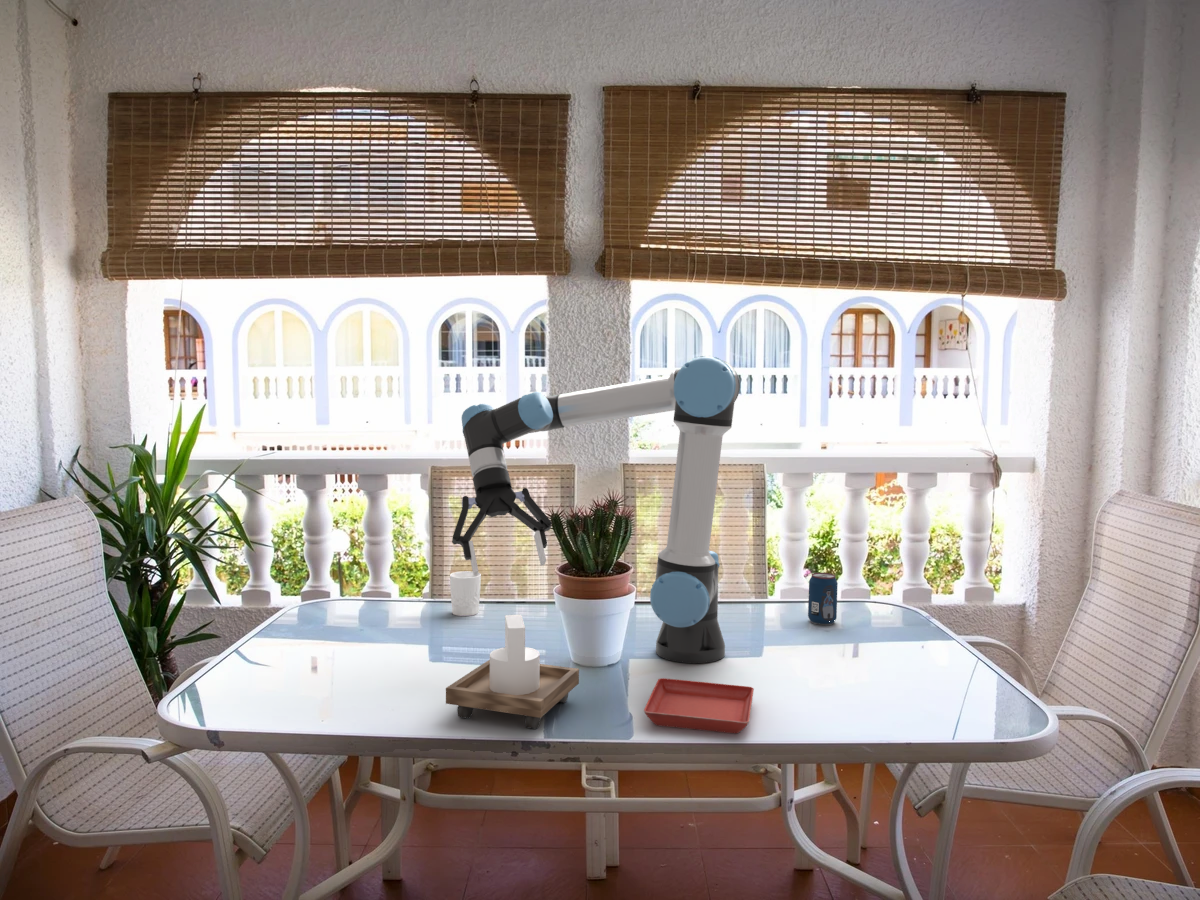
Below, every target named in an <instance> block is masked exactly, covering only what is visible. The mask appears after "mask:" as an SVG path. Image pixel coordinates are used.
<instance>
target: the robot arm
mask: <svg viewBox="0 0 1200 900" xmlns="http://www.w3.org/2000/svg"><path fill="white" fill-rule="evenodd" d="M740 383H741V382H740V377H739V375H738V373H737V371H736V370H735V368H734V367H733V366H732V365H731V364H730V363H729V362H727V361H725V360H723V359H721V358H719V357H717V356H715V357H714V356H711V355H708V356H706V355H704V356H703V355H702V356H696V357H695V358H692V359H689V360H688V361H687V362H686V363H684V364H683V366H681V368H678V369H674V370H673V371H672V372H671V373H670V374H669V375H665V376H661V377H655V378H648V379H642V380H636V381H631V382H625V383H618V384H613V385H607V386H599V387H596V388H595V387H594V388H588V389H584V390H578V391H572V392H566V393H565V392H564V393H561V394H554V395H547V396H545V394H543V392H541V391H538V390H537V391H534V392H532V393H527V394H523V395H522V396H521V397H519V398H517V399H515V400H513V401H510V402H508V403H506V404H504V405H502V406H500V407H497V408H494V407H493V406H492V405H491V404H486V403H479V404H474V405H470V406H469V407H467V408H466V409H464V411H463V412H462V414H461V424H462V425H461V426H462V435H463V439H464V442H465V445H466V451H467V455H468V460H469V467H470V471H471V476H472V482H473V488H474V492H475V497H468V496H467V495H463V496H462V500H461V510H460V515H459V517H458V520H457V523H456V526H455V528H454V532H453V535H452V539H451V543H452V545H460V547H462V552H463V556H464V559H465V560H466V561H469V560H470V565H471V569H472V571H471V572H473V576H474V577H475V576H478V573H479V567H478V562H477V555H476V550H475V547H474V541H473V540H472V538H473V536H474V535H475V533H476V532H477V530H478V529H479V527H480V526H481V524H482V523H483V521H484V520H485V519H486V517H487V516H488V517H490V518H495V517H496V516H506V515H507V514H509V515H511V517H514V518H515V519H517V520H519V521H520V522H521V523H522V524H524V525H525V526H526V527H528V528H529V529H530V530H532V531H533V532H534V536H533V537H534V542H535V547H536V552H537V556H538V561H539V565H540V566H541V567H542V566H545V564H546V563H547V557H546V554H545V549H546V548H547V547H548V541H547V537H546V532H547V531H550V530H551V528H552V525H553V522H552V520H551V519H550V518H549V516H547V514H546V513H545V512H544V511H543V510H542V509H541V508H540V506H539V505H538V503H536V501H535V500H534V499H533V498H532V496H531V494H530V492H529V489H528V488H527V487H524V488H522V489H521V491H520V490H519V491H517V492H515V491H514V490H513V487H512V482H511V478H510V474H509V471H508V463H507V459H506V455H505V451H504V444H506V443H508V442H512V441H514V440H515V439H518V438H521V437H522V436H525V435H528V434H532V433H538V432H549V431H552V430H557V429H558V430H559V429H564V428H569V427H570V428H571V427H575V426H576V427H577V426H582V425H588V424H595V423H596V424H597V423H602V422H608V421H614V420H615V421H616V420H621V419H627V418H628V419H629V418H635V417H640V416H647V415H654V414H660V413H665V412H672V411H673V413H674V414H673V420H672V421H673V423H674V424H675V425H676V427H677V428H678V431H679V435H678V436H679V438H678V444H677V452H676V453H677V454H676V463H675V470H674V471H675V472H674V480H673V489H672V497H671V506H670V515H669V522H668V523H669V525H668V534H667V540H666V542H667V543H666V546H665V548H663V550H661V551H660V552H658V554H657V555H658V557H657V563H656V571H655V572H656V573H655V579H654V581H653V584H652V585H651V588H650V592H649V593H650V595H649V602H650V606H651V609H652V611H653V613H654V614H655V616H656V617H657V618H658V619H659V620H660V621H661V622H662V624H661V626H660V630H659V633H658V635H657V638H656V641H655V653H656V654H657V655H658V656H659V657H661V658H662V659H664V660H668V661H671V662H677V663H682V664H706V663H712V662H717V661H719V660H721V659H723V658H724V657H725V655H726V645H725V641H724V636H723V634H722V631H721V627H720V624H719V620H718V615H719V614H718V612H719V611H718V610H719V607H718V606H719V603H718V602H719V568H720V561H719V554H718V553H717V552H715V551H713V550H710V547H711V545H710V544H711V539H712V538H711V537H712V530H713V529H712V528H713V521H714V513H715V511H714V510H715V505H716V504H715V503H716V496H717V485H718V477H719V470H720V469H719V468H720V461H721V453H722V452H721V451H722V445H723V437H724V435H725V434H726V433H727V432H729V431H730V429H732V425H733V424H732V423H733V418H734V417H733V416H734V409H735V403H736V401H737V399H738V397H739V394H740V388H741V384H740ZM516 500H519V501H520V502H522V503H523V505H524V506H525V507H526V508H527V510H528V511H529V512H530V513H531V515H530V514H529V513H527V512H526V511H525V510H524V509H523V508H522V507H520V506H519V504H517V502H515V501H516ZM474 505H475V506H476V507H477V508H479V511H478V513H477V515H475V517H474V519H473V521H472V522H471V524H470V525H469V526H468V528H467V530H466V532H465V533H464V534H463V536H462V535H461V534H462V532H463V528H464V526H465V523H466V520H467V516H468V514H469V510H471V509H472V508H473V506H474ZM532 515H533V516H532Z"/></svg>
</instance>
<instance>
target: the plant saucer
mask: <svg viewBox="0 0 1200 900" xmlns="http://www.w3.org/2000/svg"><path fill="white" fill-rule="evenodd" d="M653 687H654V688H653V689H652V691H651V693H650V695H649V697H648V701H647V703H646V704H645V707H644V708H643V712H644V714H645V715H646V716H647V718H648V719H649V720H650V721H651V722H652V723H653V724H654V725H655V726H659V727H666V728H667V727H668V728H669V727H670V728H677V729H678V728H680V729H689V730H698V731H700V730H701V731H708V732H715V733H716V732H717V733H728V734H739V733H741V731H743V730H745V728H746V727H747V725H749V723H750V719H751V710H752V703H753V696H754V690H755V688H754V687H752V686H745V685H734V684H727V683H726V684H724V683H717V682H716V683H715V682H708V681H707V682H706V681H705V682H704V681H695V680H686V679H685V680H684V679H677V678H676V679H673V678H665V677H664V678H663V677H662V678H661V677H660V678H658V679H657V681H656V683H655V685H654V686H653Z"/></svg>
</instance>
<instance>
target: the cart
mask: <svg viewBox="0 0 1200 900" xmlns="http://www.w3.org/2000/svg"><path fill="white" fill-rule="evenodd" d="M579 684H580V668H575V667H568V666H561V665H551V664H544V663H540V686H539V688H538V690H536V691H534V692H532V693H529V694H524V695H511V694H504V693H497V692H493V691H492V690H491V689H490V659H488V660H486V661H485V662H484V663H482V664H480V665H479V666H477V667H476V668H474V669H473V670H471V671H469V672H468V673H467V674H465V675H464V676H462V677H461V678H459V679H457V680H456V681H454V682H453V683H451V684H450V685H448V686H447V687H445V705H451V706H452V705H453V706H457V712H456V713H457V716H458V718H463V719H470V718H471V717H472V715H473V712H474V709H480V710H487V711H492V712H493V711H494V712H500V713H507V714H513V715H518V716H519V715H520V716H525V717H524V724H525V727H526V728H529V729H534V730H536V729H538V728H539V727H540V724H541V720H542V719H541V718H543V716H545V714H547V713H548V712H549V711H551V709H552V708H553V707H554V706H556V705H557V704H558V703H562V704H565V703H566V702H567V700H568V698H569V693H570V692H571V691H572V690H573V689H574V688H575V687H577V686H578V685H579Z"/></svg>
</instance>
